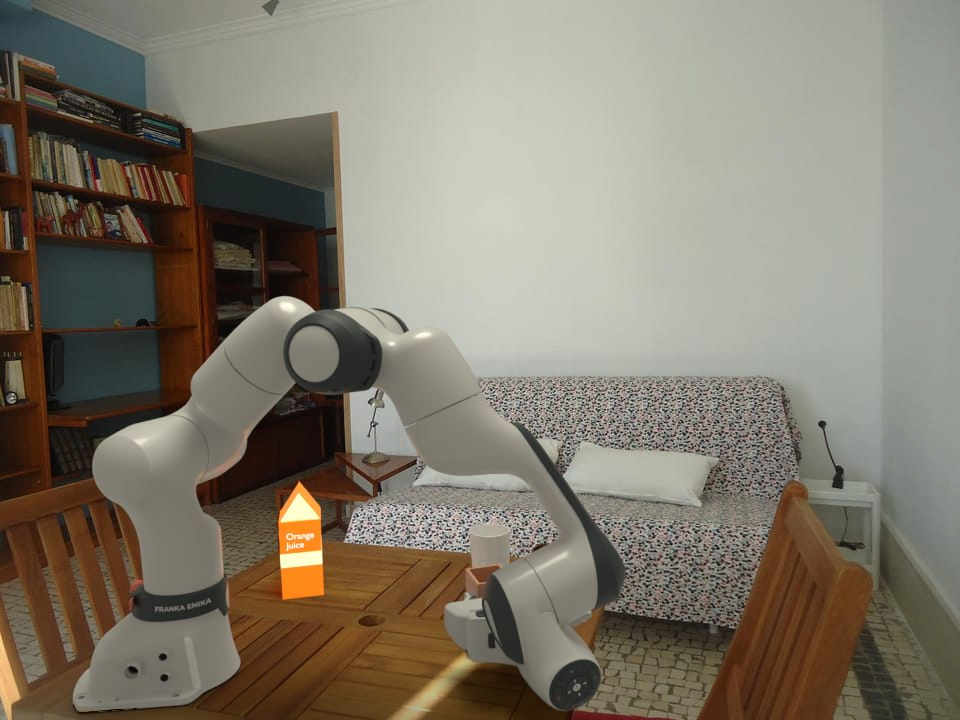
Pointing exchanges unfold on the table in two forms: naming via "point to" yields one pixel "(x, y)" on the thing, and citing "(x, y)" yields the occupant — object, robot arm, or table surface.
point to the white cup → (490, 545)
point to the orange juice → (301, 546)
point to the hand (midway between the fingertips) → (497, 592)
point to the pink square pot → (479, 578)
